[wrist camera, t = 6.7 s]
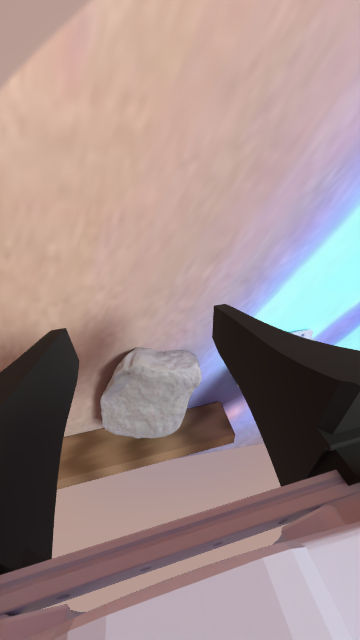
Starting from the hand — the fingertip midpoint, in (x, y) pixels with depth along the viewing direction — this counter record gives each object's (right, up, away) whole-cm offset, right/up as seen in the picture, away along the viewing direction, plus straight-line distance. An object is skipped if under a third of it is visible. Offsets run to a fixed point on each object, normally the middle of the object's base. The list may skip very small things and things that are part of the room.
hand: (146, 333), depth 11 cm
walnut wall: (-4, -14, +19) cm, 24 cm away
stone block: (-3, -7, +16) cm, 17 cm away
